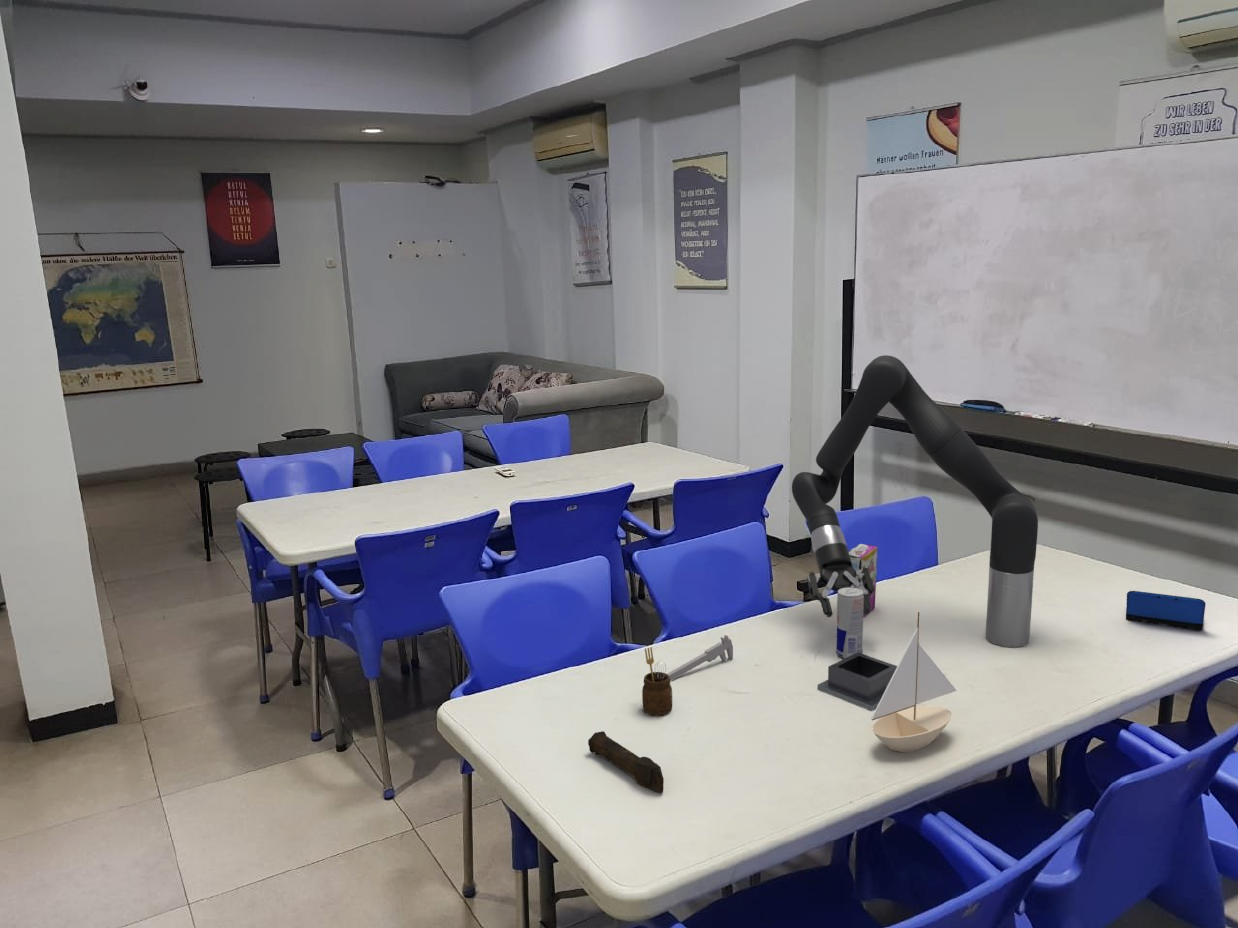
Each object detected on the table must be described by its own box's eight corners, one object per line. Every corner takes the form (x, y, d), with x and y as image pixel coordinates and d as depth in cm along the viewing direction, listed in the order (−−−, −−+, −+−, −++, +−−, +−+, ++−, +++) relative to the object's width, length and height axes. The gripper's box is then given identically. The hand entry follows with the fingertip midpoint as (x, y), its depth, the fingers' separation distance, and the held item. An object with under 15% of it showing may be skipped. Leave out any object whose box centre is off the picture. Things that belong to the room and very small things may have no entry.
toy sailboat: (894, 633, 155) (857, 616, 162) (889, 769, 160) (854, 746, 168) (981, 608, 164) (943, 593, 172) (974, 737, 169) (937, 717, 177)
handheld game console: (1202, 619, 220) (1206, 582, 218) (1202, 639, 209) (1206, 600, 207) (1127, 608, 228) (1130, 572, 226) (1123, 627, 217) (1127, 589, 215)
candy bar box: (859, 622, 224) (861, 557, 220) (840, 618, 227) (841, 554, 223) (876, 608, 232) (878, 545, 229) (857, 604, 235) (859, 542, 232)
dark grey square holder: (855, 669, 198) (855, 648, 197) (909, 689, 189) (909, 666, 188) (817, 689, 190) (817, 666, 189) (871, 710, 180) (872, 686, 179)
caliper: (729, 659, 206) (729, 632, 205) (733, 660, 206) (733, 634, 204) (656, 684, 195) (655, 656, 194) (659, 686, 194) (658, 658, 193)
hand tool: (587, 754, 168) (586, 731, 167) (605, 747, 171) (604, 724, 170) (649, 801, 153) (648, 776, 152) (668, 793, 155) (668, 768, 154)
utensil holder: (652, 719, 180) (650, 662, 177) (636, 706, 185) (634, 650, 183) (678, 712, 182) (677, 655, 180) (662, 699, 188) (660, 644, 185)
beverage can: (863, 651, 208) (864, 587, 204) (861, 661, 202) (862, 596, 199) (837, 648, 209) (838, 585, 206) (834, 658, 204) (836, 594, 201)
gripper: (804, 543, 209) (822, 609, 201) (864, 539, 211) (884, 604, 203) (796, 559, 215) (813, 623, 207) (855, 554, 217) (874, 618, 209)
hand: (848, 614), depth 205 cm, fingers open, 8 cm apart
